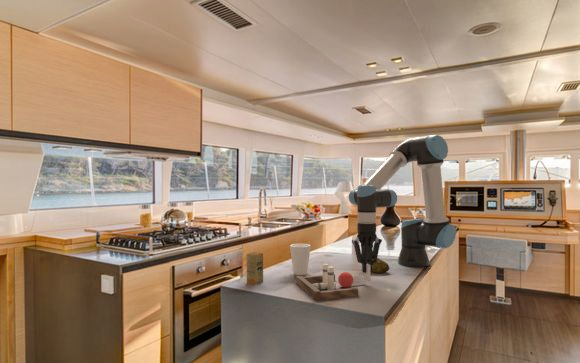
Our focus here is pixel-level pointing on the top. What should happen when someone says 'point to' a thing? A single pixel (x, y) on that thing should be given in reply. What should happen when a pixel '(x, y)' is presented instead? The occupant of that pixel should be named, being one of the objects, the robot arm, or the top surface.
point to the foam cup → (300, 258)
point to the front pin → (322, 285)
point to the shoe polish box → (254, 268)
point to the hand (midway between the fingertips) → (367, 280)
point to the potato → (380, 266)
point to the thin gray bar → (357, 285)
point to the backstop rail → (320, 295)
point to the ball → (345, 279)
